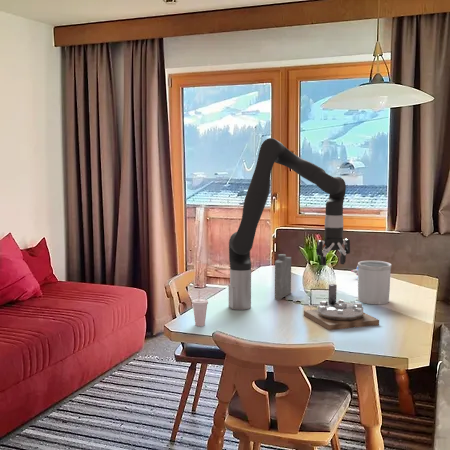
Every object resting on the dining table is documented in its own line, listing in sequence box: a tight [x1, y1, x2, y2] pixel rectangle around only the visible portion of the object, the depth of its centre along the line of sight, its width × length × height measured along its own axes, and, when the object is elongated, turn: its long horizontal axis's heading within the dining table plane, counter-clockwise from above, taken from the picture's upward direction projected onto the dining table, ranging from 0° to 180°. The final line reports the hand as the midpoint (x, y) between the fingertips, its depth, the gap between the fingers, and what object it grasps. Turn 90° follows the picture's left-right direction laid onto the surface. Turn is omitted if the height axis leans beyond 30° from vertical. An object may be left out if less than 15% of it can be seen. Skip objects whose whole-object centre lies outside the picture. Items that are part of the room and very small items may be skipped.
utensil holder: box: [357, 260, 392, 305], centre depth 264 cm, size 15×15×18 cm
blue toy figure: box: [350, 265, 358, 276], centre depth 314 cm, size 12×12×8 cm
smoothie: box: [191, 289, 209, 327], centre depth 227 cm, size 6×6×14 cm
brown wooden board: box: [303, 308, 380, 331], centre depth 234 cm, size 22×22×2 cm
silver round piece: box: [317, 283, 364, 320], centre depth 233 cm, size 18×18×11 cm
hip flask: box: [274, 253, 292, 301], centre depth 274 cm, size 16×4×20 cm, turn 154°
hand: (333, 264), depth 238 cm, fingers open, 8 cm apart
